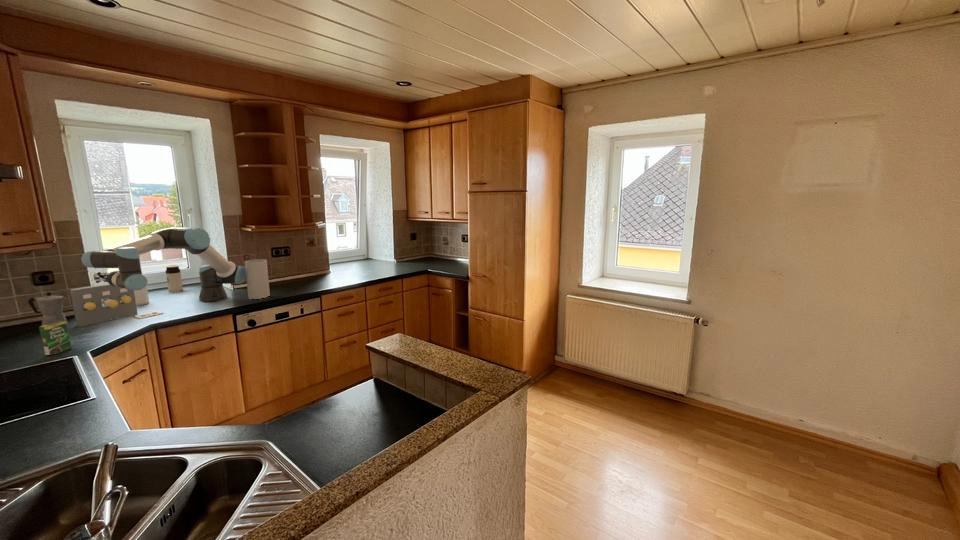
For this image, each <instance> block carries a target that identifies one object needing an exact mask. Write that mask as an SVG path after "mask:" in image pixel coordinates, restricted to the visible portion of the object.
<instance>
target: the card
mask: <svg viewBox="0 0 960 540" xmlns="http://www.w3.org/2000/svg"><path fill="white" fill-rule="evenodd" d="M162 313H163V314H164V312H161V311H152V312H149V313H143V314H139V315H138V314H137V315H133V318H134V317H135V319H138V318H139V320H142V319H146V318H145V317H147V318H149V316H151V317H154V316H153V315H155V316H159V315H158V314H160V315H163V314H162ZM141 318H142V319H141Z"/></svg>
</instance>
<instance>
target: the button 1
mask: <svg viewBox="0 0 960 540" xmlns="http://www.w3.org/2000/svg"><path fill="white" fill-rule="evenodd" d="M82 304H83V309H87V310H93V309H95V308H96V304H95V303H93V302H90V301H89V302H83V303H82Z"/></svg>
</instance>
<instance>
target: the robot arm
mask: <svg viewBox="0 0 960 540" xmlns="http://www.w3.org/2000/svg"><path fill="white" fill-rule="evenodd" d="M165 249H166V250H168V249H177V250H179V249H180V250H186V251H187V252H188V253H190V254H191V255H194V256H195V255H197V256H198V257H199V258H200V259H201V260H202V261H204V262H205V263H206V264H203V265H200V266H198V267H199V268H198V271H199V272H198V273H199V281H200V282H199V283H200V293H199V296H198V300H199V302H201V301H202V303H207V302H208V303H210V301H213V302H219V301H218V300H220V301H223V300H222V299H224V300H226V299H228V294H227V291H226V290H225V288H224V285H223V284H225V285H226V284H227V285H229V284H231V285H237V284H238V285H239V284H243V282H244V281H245V279H246V269H245V266H243V265H237V264H236V263H235V262H233V261H230V260H228V259H226V258H225V257H224V256H223V255H222V254H221V253H220V252H219V251H218V250H216V249H215V248H214V246H212V245H211V237H210V234H209V233H208V232H207V231H206V229H203V228H201V227H168V228H163V229H159V230H156V231H153V232H149V233H148V234H146V236H144V237H141V238H137V239H134V240H131V241H128V242H127V241H126V242H124V243H121V244H118V245H115V246H111V247H107V248H104V249H101V250H92V251H91V250H89V251H86V252H84V253H83V254H82V255H81V262H82V265H83V266H85V267H86V268H94V269H118V270H113V271H111V272H103V271H102V272H101V271H93V279H94V281H95V283H96V284H99V283H102V282H104V283H107V284H108V283H109V284H110V285H112V286H115V287H121V288H124V289H128V290H141V289H143V288H145V287H146V285H148V278H147V277H146V276H145V275H143V272H142V265H141V260H140V257H141V256H142V255H143V254H146V253H149V252H152V251H161V250H165ZM225 298H226V299H225Z"/></svg>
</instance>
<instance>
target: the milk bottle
mask: <svg viewBox="0 0 960 540" xmlns="http://www.w3.org/2000/svg"><path fill="white" fill-rule="evenodd" d="M147 285H148V284H147ZM147 285H146V287H145V288H143V289H141V290H134V295H135V301H136V306H141V305H147V304H149V303H150V299H149V292H148V287H147Z"/></svg>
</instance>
